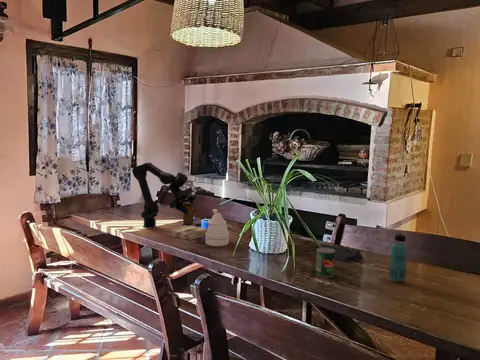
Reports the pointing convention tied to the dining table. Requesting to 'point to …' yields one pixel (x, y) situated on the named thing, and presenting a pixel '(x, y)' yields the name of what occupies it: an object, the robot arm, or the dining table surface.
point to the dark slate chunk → (344, 253)
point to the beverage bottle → (398, 259)
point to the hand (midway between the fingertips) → (190, 213)
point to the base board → (188, 232)
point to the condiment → (188, 215)
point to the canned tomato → (325, 262)
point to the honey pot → (217, 231)
